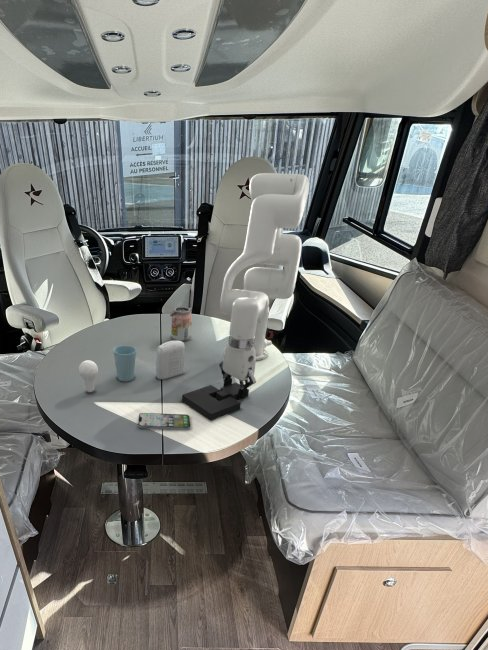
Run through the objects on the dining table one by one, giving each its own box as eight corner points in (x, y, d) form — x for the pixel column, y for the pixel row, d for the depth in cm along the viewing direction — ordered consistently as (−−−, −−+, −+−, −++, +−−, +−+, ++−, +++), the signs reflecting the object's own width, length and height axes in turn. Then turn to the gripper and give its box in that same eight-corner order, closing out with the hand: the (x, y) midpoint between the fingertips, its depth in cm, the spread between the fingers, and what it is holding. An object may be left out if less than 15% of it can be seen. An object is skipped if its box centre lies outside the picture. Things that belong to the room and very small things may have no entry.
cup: (138, 373, 156) (137, 345, 150) (134, 383, 150) (134, 355, 144) (117, 372, 157) (115, 344, 151) (113, 382, 151) (111, 353, 145)
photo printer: (178, 369, 159) (179, 336, 152) (185, 373, 156) (187, 340, 149) (154, 376, 154) (154, 342, 147) (161, 381, 151) (162, 347, 144)
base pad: (210, 391, 146) (210, 384, 144) (240, 409, 136) (241, 402, 135) (181, 401, 140) (182, 394, 139) (210, 421, 131) (211, 414, 129)
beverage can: (166, 335, 185) (167, 306, 178) (184, 332, 187) (185, 304, 180) (176, 343, 178) (177, 314, 171) (194, 340, 181) (196, 311, 174)
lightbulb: (102, 389, 147) (100, 358, 140) (94, 397, 142) (92, 366, 135) (85, 386, 148) (83, 355, 142) (77, 394, 144) (74, 363, 137)
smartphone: (190, 428, 126) (138, 426, 126) (190, 431, 127) (138, 429, 127) (189, 414, 132) (139, 412, 132) (188, 417, 133) (139, 415, 133)
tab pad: (235, 389, 146) (236, 382, 145) (248, 396, 142) (249, 389, 141) (212, 397, 141) (213, 390, 140) (225, 405, 138) (226, 398, 136)
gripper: (271, 348, 128) (261, 402, 138) (230, 329, 139) (224, 381, 150) (253, 354, 124) (244, 409, 135) (212, 334, 136) (207, 387, 146)
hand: (234, 394), depth 142 cm, fingers closed on tab pad, 6 cm apart
